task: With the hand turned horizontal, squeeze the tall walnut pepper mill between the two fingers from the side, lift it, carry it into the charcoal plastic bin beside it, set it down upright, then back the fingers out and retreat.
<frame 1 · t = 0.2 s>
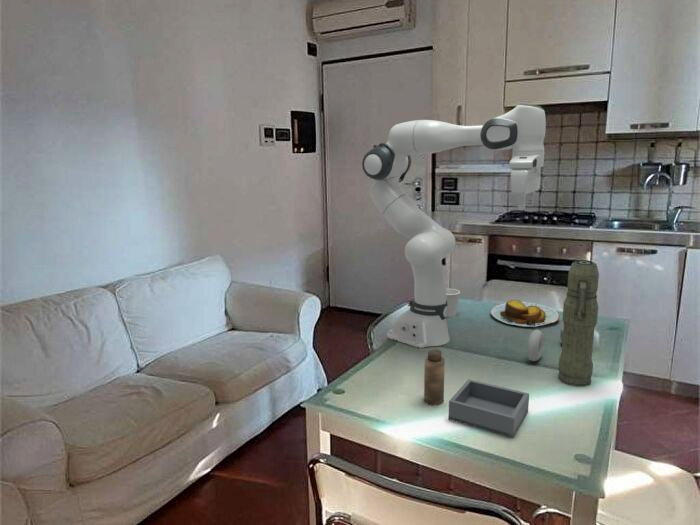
hand: (525, 208, 149), 48 cm above the table, tool pointing down, fingers open, 8 cm apart
smart speaker: (574, 347, 167), on the table
food on plate: (523, 319, 196), on the table
dixie cup: (448, 315, 201), on the table
pepper mill: (433, 400, 133), on the table
thermos: (574, 380, 144), on the table
donut: (534, 360, 157), on the table
bin: (488, 415, 125), on the table
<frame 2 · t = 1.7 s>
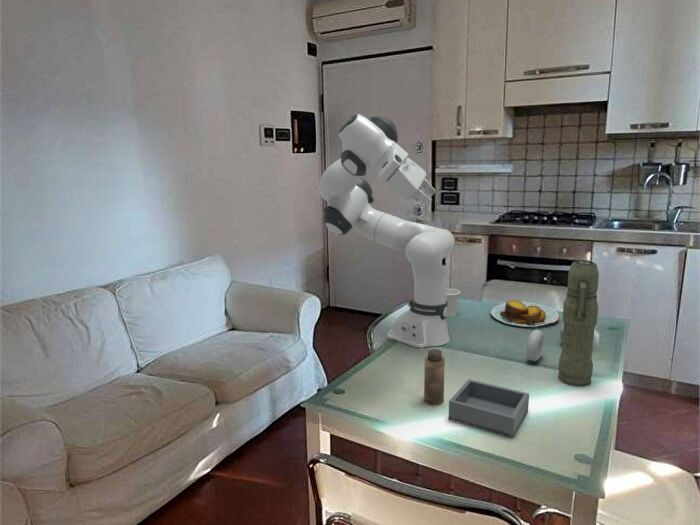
hand: (432, 198, 130), 54 cm above the table, tool tilted 50°, fingers open, 8 cm apart
nothing on the table moved.
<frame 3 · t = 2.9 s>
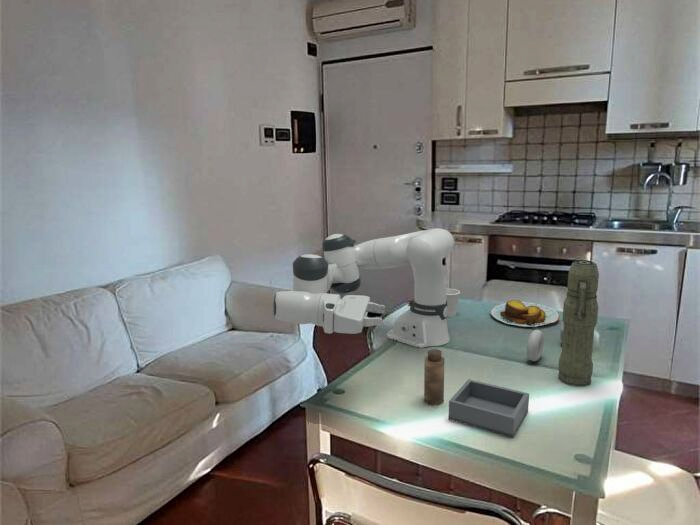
hand: (383, 315, 130), 24 cm above the table, tool horizontal, fingers open, 8 cm apart
nothing on the table moved.
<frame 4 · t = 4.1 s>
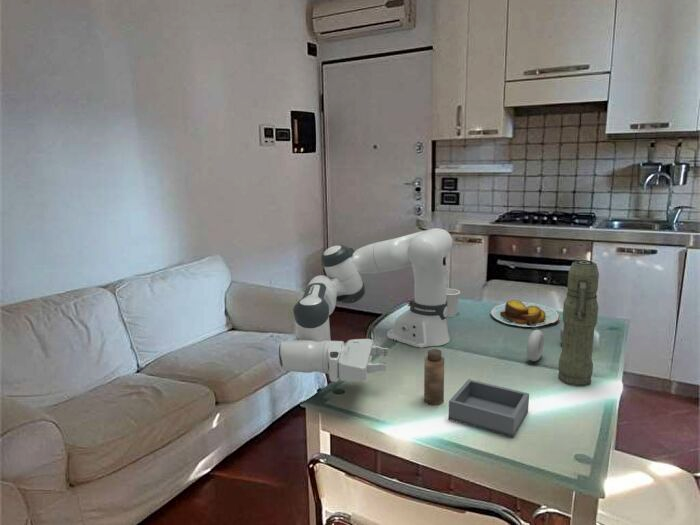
hand: (387, 359, 132), 12 cm above the table, tool horizontal, fingers open, 8 cm apart
nothing on the table moved.
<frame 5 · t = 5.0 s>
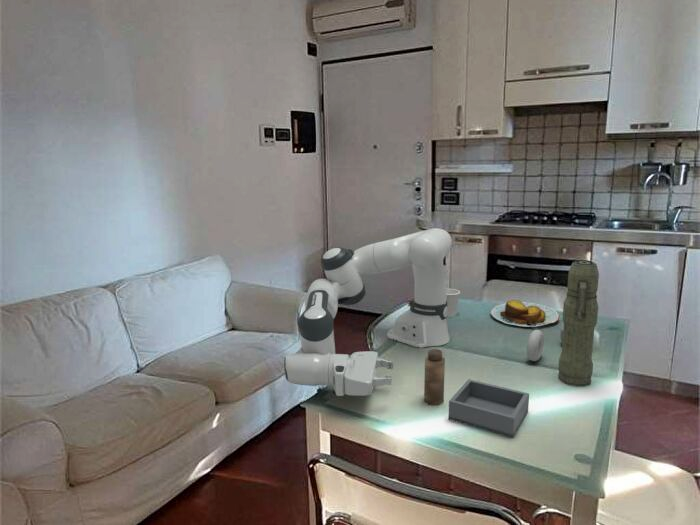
hand: (392, 372, 133), 8 cm above the table, tool horizontal, fingers open, 8 cm apart
nothing on the table moved.
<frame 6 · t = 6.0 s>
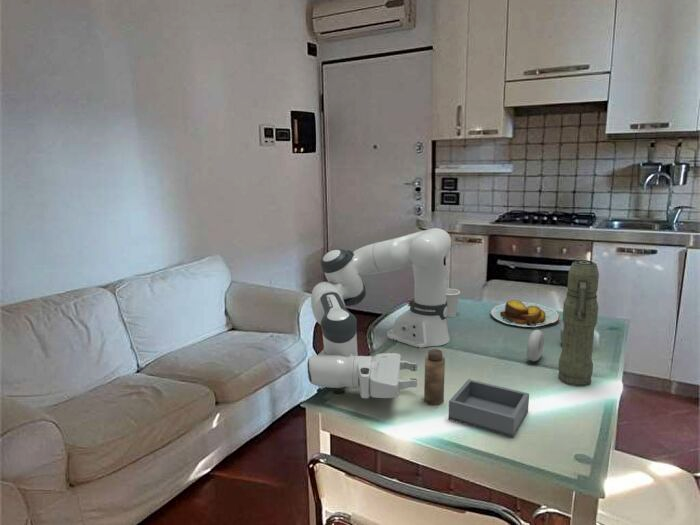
hand: (417, 374, 132), 7 cm above the table, tool horizontal, fingers open, 8 cm apart
nothing on the table moved.
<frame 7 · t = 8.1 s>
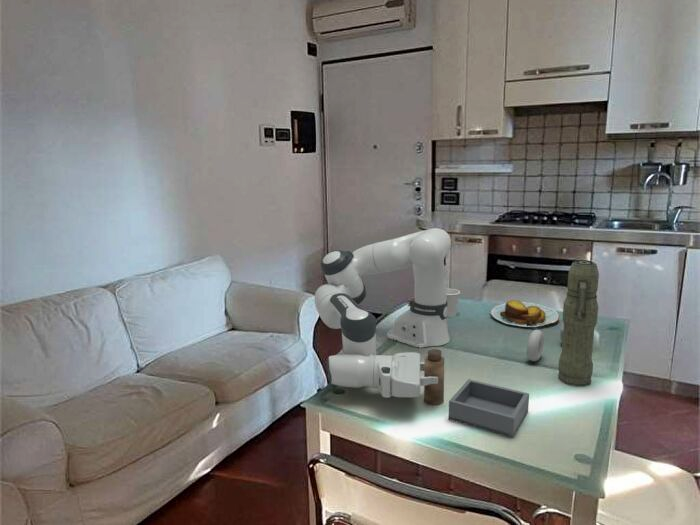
hand: (437, 374, 132), 8 cm above the table, tool horizontal, fingers closed on pepper mill, 5 cm apart
pepper mill: (433, 400, 133), on the table, touching gripper
everything else where it was.
when the fingers open (10 cm above the table, at t = 12.8 s): pepper mill stays where it is, resting on bin.
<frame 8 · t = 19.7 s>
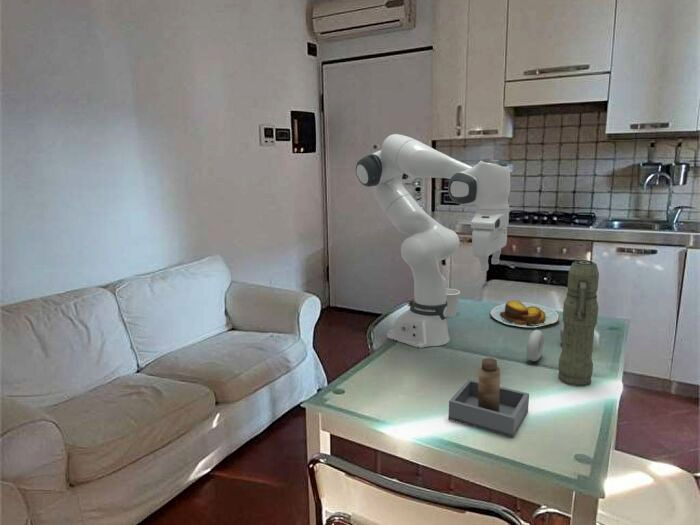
hand: (489, 267, 140), 33 cm above the table, tool pointing down, fingers open, 8 cm apart
pepper mill: (488, 412, 125), point 1 cm above the table, touching bin
everything else where it was.
at the end: pepper mill inside the target area on the bin (0.1 cm from its centre), point 0.9 cm above the bin's base; pepper mill tilted 2°; the gripper is holding nothing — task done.
